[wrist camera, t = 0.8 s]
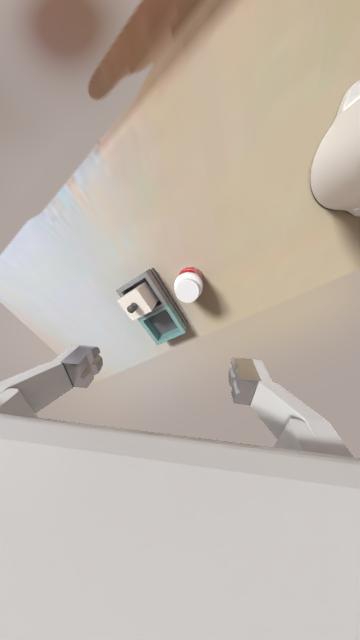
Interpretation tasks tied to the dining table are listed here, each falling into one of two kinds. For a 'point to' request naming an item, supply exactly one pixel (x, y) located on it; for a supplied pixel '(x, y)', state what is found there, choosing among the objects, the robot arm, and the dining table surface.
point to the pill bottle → (188, 284)
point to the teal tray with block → (152, 307)
